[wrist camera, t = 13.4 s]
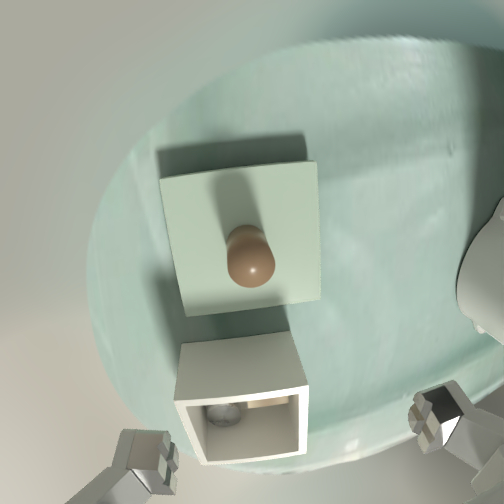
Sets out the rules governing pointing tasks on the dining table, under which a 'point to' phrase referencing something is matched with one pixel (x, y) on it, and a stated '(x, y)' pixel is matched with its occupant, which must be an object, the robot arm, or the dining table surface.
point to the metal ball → (224, 414)
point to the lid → (244, 236)
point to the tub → (243, 397)
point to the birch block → (268, 401)
